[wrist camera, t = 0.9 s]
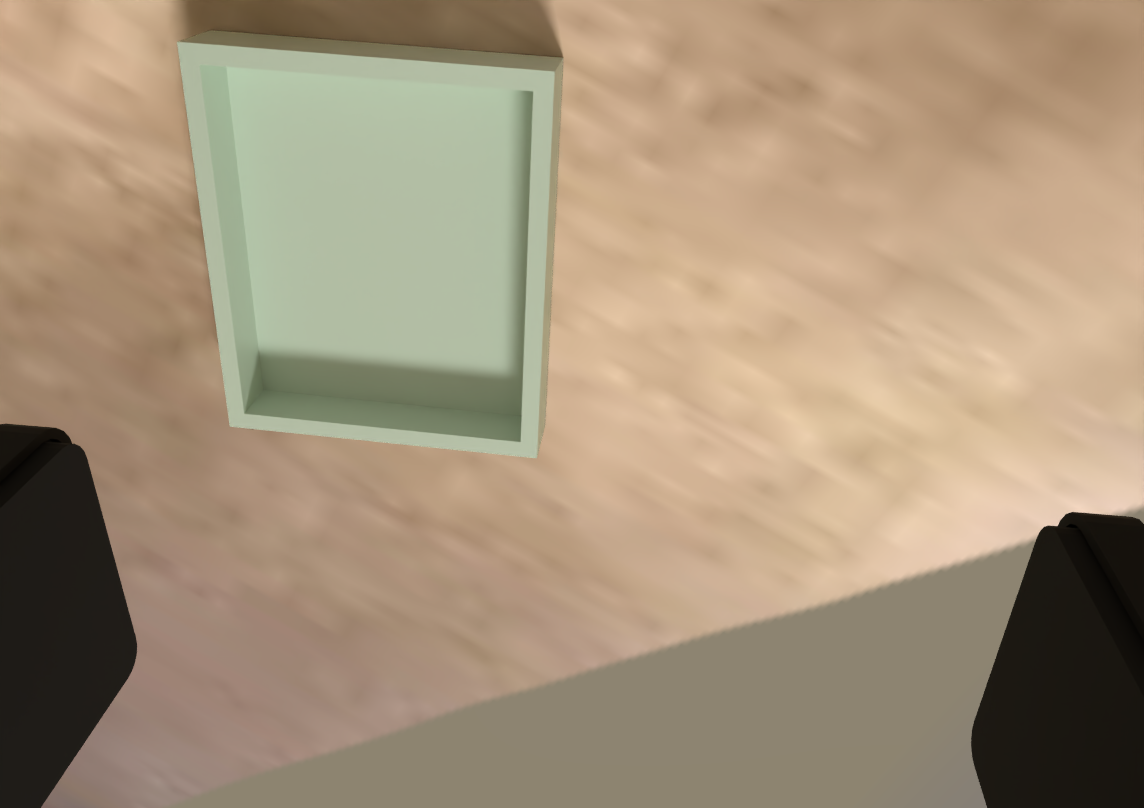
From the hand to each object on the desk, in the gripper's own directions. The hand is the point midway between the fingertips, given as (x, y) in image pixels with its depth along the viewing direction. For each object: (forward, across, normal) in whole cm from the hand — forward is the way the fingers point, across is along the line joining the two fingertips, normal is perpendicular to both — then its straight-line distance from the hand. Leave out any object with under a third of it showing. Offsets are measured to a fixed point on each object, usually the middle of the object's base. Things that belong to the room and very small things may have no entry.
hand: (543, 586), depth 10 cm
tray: (+23, +8, +6) cm, 25 cm away
